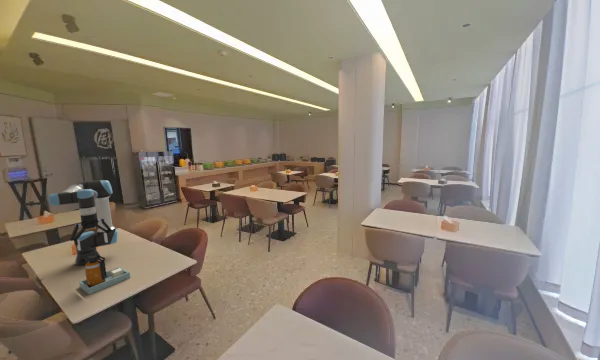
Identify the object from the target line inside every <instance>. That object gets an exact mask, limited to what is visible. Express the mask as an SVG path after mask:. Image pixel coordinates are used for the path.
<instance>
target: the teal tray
mask: <svg viewBox="0 0 600 360" xmlns="http://www.w3.org/2000/svg"><path fill="white" fill-rule="evenodd" d="M118 268H120V269H122V270H123V275H120V276H118V277H115V278H113V279H112V277H111V271H113V270H116V269H118ZM106 275H107V276H108V277H106V278H105V279H106V281H105V282H103V283H100V284H98V285H95V286H93V287H90V288H89V287H88V286H87V280H86V278H85V279H83V280H80V281H79V282H78V283H79V284H78V285H79V288H80V289H81V290H83V291H84V292H85V293H86V294H87V295H89V296H90V295H92V294H95V293H96V292H98V291H99V292H100V291H103V290H104V289H106V288H109V287H111V286H114V285H116V284H118V283H120V282H124V281H125V280H126V281H127V279H130V278H131V272H130V271H129V270H126V269H124V268H123V267H121V266H118V267H116V268H112V269H109V270H106Z"/></svg>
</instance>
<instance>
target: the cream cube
mask: <svg viewBox="0 0 600 360" xmlns="http://www.w3.org/2000/svg"><path fill="white" fill-rule="evenodd" d="M120 275H123V270H122V269H120V268H118V269H116V270H113V271H111V277H112V279H113V278H115V277H118V276H120Z"/></svg>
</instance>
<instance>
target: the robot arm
mask: <svg viewBox="0 0 600 360" xmlns="http://www.w3.org/2000/svg"><path fill="white" fill-rule="evenodd" d="M111 195H113V188H112V185H111V182H110V181H109V180H106V179H105V180H104V179H99V180H98V179H97V180H89V181H87V180H86V181H80V182H76V183H73V184H71V185H69V186H68V187H67V188H66V189H65V190H63V191H61V192H59V193H50V194H49V195H48V203H49V205H50V206H53V207H54V206H59V207H60V206H65V205H73V204H78V208H79V214H80V221H81V223H75V224H74V227H73V230H72V232H71V235H70V237H69V241H71V242H72V241H73V243H74V246H75V249H76V257H75V260H74V263H75V264H74V265H75V266H78V267H79V266H86V264H87V263H88V262H89V261H88V260H85V259H86V258H87V257H89V256H98V255H99V256H101V254H100V252H99V251H98V249H97V248H98V247H104V246H110V245H114V244H117V242H118V238H119V229H117V228H116V226H114V224H113V220H112V212H111V206H110V200H109V198H110V197H111ZM95 227H96V228H98V229H97V231H96V232H95V231H93V230H91V231H86V230H89V229H94V228H95ZM79 228H80V230H79ZM78 230H79V231H78ZM85 231H86V232H85Z"/></svg>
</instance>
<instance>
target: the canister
mask: <svg viewBox="0 0 600 360" xmlns="http://www.w3.org/2000/svg"><path fill="white" fill-rule="evenodd" d="M85 260H88V261H89V262H88V263H87V264H86V265H85V268H84V272H85V273H84V274H85V279H86V280H87V286H88V287H89V288H90V287H93V286H95V285H98V284H100V283H103V282H105V281H106V279H105V278H106V277H108V276H107V275H106V272H107V270H106V269H107V268H106V262H105V261H106V257H103V256H101V255H100V256H99V255H98V256H89V257H87V258H86V259H85Z"/></svg>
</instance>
